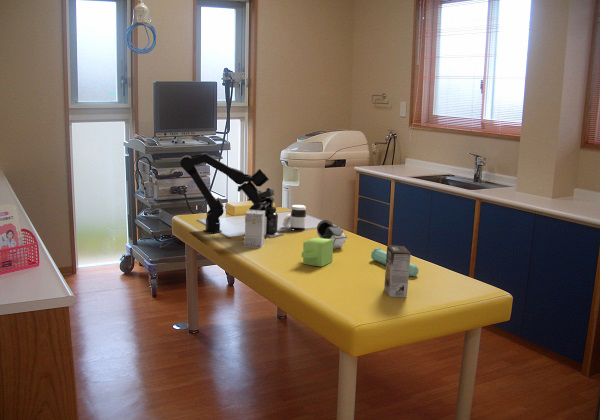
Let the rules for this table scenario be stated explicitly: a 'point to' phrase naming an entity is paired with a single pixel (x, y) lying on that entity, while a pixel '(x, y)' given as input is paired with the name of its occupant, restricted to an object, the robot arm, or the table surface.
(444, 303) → the table surface
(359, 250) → the table surface
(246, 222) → the circuit breaker
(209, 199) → the robot arm
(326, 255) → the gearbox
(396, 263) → the coffee box
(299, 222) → the white and brown mug
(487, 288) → the table surface
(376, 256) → the container
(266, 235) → the grey mat
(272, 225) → the supplement bottle
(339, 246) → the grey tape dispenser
